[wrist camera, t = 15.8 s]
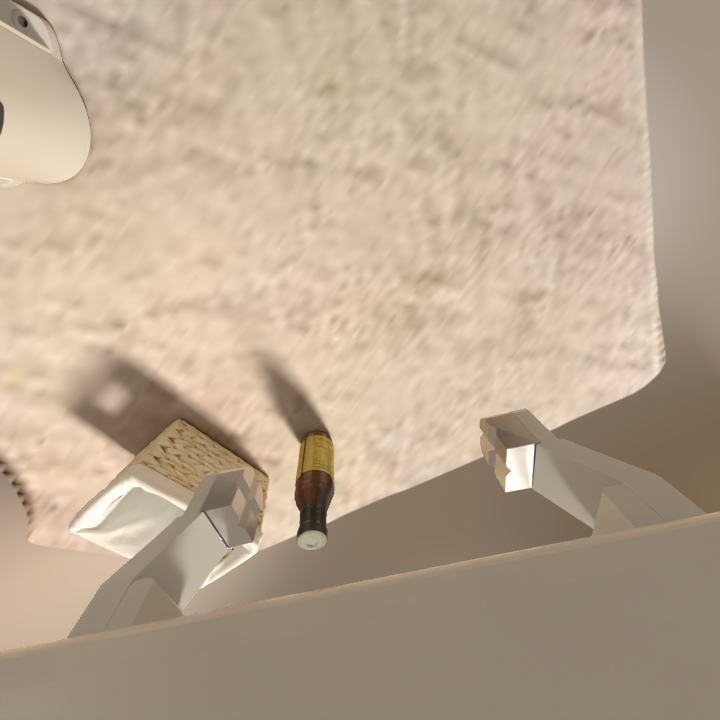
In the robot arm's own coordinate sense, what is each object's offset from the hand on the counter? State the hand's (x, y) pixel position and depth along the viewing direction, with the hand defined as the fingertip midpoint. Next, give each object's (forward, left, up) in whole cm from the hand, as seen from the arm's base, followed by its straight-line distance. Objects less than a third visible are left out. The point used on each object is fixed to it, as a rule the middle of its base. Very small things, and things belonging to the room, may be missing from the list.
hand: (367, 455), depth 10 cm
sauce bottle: (+15, -28, -37) cm, 49 cm away
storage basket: (+1, -46, -38) cm, 60 cm away
